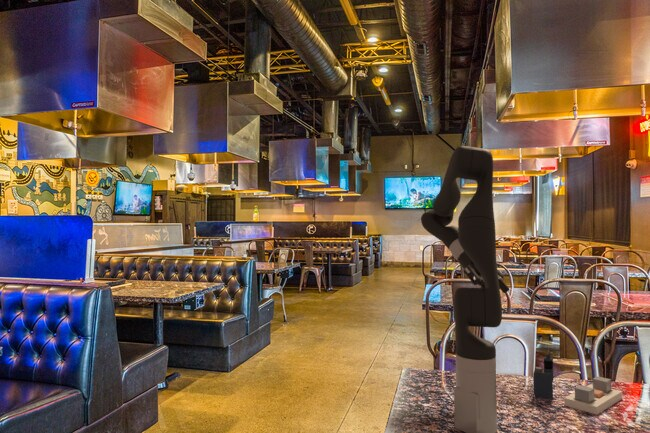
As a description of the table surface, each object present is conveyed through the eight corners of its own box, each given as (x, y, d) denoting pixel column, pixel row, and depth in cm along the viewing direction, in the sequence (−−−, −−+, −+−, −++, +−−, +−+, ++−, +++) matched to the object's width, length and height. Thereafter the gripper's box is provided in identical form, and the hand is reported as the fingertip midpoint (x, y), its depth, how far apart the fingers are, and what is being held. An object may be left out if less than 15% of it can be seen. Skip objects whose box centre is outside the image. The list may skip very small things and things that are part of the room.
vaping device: (555, 399, 123) (554, 356, 124) (534, 397, 125) (533, 355, 125) (552, 396, 126) (551, 354, 126) (532, 394, 127) (532, 352, 128)
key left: (589, 402, 116) (588, 391, 116) (574, 398, 118) (574, 387, 119) (594, 399, 118) (594, 388, 118) (580, 395, 121) (580, 385, 121)
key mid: (598, 404, 119) (598, 394, 120) (584, 400, 122) (584, 390, 122) (603, 401, 122) (603, 391, 122) (589, 397, 124) (589, 387, 124)
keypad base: (596, 414, 113) (596, 406, 113) (564, 405, 119) (564, 397, 119) (622, 398, 124) (622, 391, 124) (591, 390, 131) (591, 383, 131)
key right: (606, 392, 123) (606, 381, 123) (592, 388, 126) (592, 378, 126) (611, 389, 125) (611, 379, 126) (597, 386, 128) (597, 376, 128)
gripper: (460, 245, 137) (495, 286, 127) (485, 245, 146) (520, 283, 136) (446, 262, 141) (478, 302, 131) (471, 260, 150) (504, 298, 140)
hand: (499, 292), depth 134 cm, fingers open, 8 cm apart
